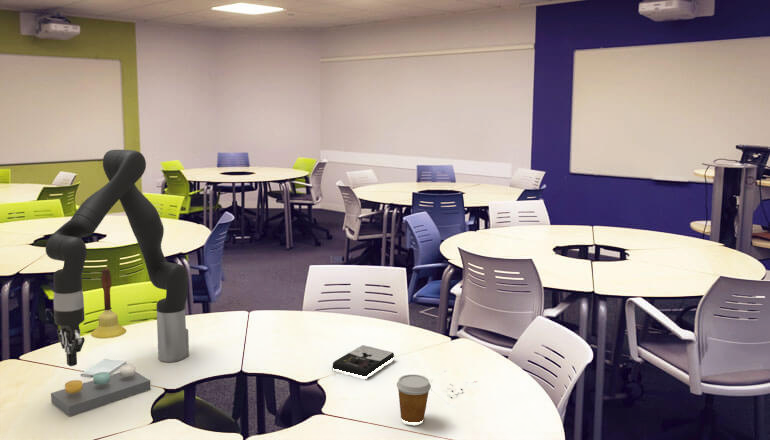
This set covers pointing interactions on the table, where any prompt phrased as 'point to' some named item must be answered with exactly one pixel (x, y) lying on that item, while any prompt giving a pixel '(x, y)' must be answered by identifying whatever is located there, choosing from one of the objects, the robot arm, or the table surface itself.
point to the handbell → (107, 313)
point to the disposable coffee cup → (413, 397)
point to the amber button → (73, 386)
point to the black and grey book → (363, 360)
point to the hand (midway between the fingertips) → (72, 364)
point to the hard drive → (104, 367)
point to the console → (100, 393)
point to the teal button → (101, 378)
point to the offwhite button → (127, 370)
